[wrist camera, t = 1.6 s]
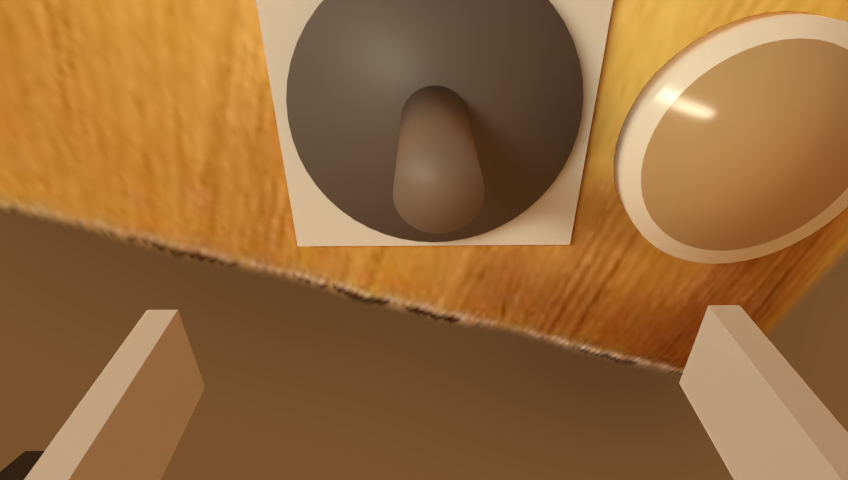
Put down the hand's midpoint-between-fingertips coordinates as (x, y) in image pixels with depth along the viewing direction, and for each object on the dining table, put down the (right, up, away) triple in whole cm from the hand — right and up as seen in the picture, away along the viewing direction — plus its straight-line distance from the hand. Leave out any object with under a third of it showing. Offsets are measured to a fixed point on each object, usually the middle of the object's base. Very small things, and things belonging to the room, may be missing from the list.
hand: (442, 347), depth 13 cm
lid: (0, +10, +15) cm, 18 cm away
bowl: (+16, +10, +16) cm, 25 cm away
